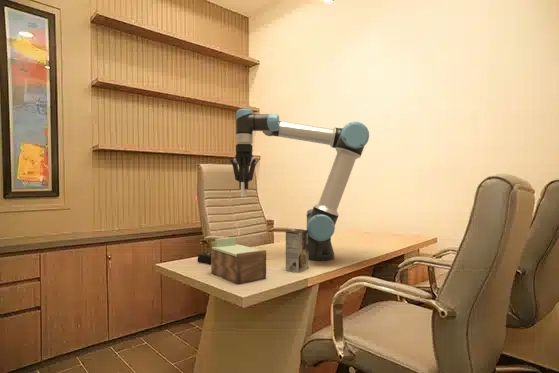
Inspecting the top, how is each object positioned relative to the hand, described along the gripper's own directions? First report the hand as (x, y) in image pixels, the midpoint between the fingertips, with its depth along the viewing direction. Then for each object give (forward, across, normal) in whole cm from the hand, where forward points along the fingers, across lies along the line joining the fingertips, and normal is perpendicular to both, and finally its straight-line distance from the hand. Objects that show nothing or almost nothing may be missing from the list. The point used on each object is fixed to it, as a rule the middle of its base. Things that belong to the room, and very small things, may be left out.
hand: (243, 196), depth 156 cm
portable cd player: (+30, -8, -3) cm, 31 cm away
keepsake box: (+29, +10, -22) cm, 38 cm away
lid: (+20, +9, -22) cm, 31 cm away
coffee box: (+30, +27, -3) cm, 40 cm away
